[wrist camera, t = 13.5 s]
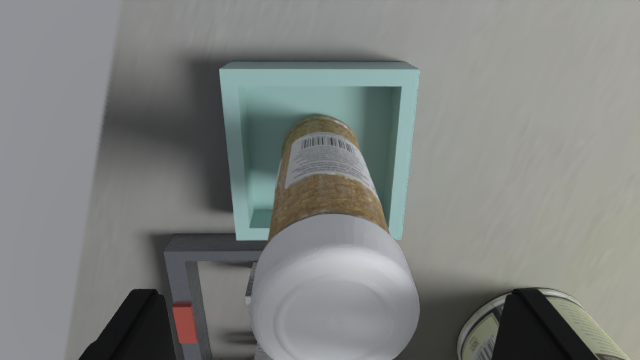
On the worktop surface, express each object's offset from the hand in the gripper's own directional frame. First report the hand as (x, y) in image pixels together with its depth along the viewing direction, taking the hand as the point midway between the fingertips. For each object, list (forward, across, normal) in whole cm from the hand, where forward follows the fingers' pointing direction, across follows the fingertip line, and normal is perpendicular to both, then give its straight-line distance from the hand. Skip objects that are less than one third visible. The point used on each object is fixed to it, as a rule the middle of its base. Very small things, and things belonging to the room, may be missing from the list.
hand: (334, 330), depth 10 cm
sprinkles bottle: (+13, 0, -1) cm, 13 cm away
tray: (+14, 0, -1) cm, 14 cm away
